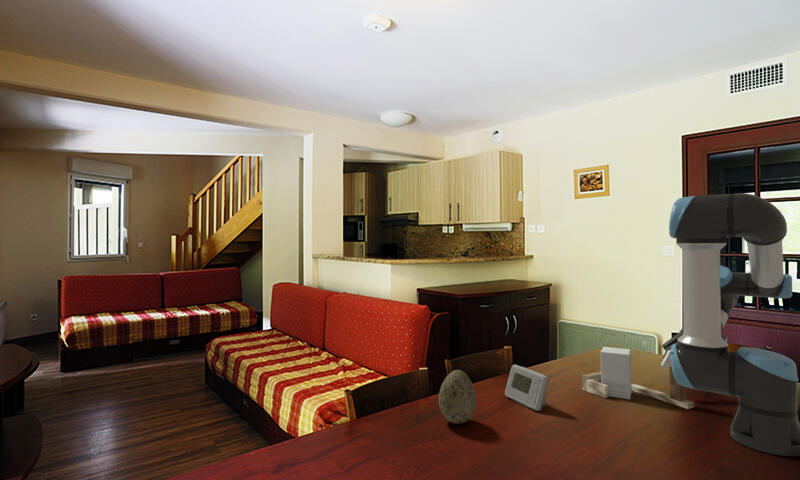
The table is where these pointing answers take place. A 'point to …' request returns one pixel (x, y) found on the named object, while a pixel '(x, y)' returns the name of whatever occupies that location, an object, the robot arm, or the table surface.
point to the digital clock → (527, 387)
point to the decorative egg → (457, 397)
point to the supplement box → (616, 371)
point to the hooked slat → (639, 390)
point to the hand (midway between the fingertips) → (684, 373)
